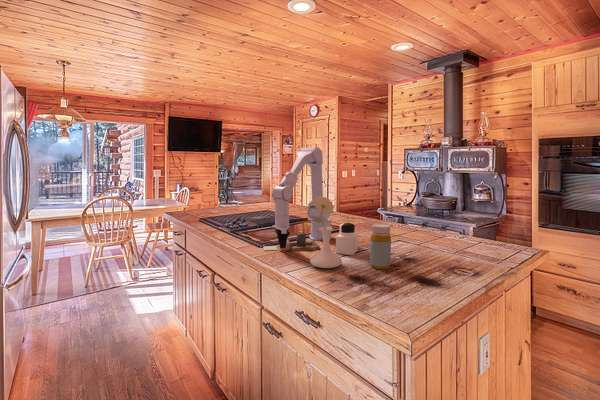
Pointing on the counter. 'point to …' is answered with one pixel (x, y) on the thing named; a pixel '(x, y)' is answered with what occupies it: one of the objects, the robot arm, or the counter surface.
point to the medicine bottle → (347, 239)
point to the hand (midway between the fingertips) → (282, 247)
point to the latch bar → (285, 247)
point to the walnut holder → (314, 247)
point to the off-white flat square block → (269, 248)
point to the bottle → (380, 246)
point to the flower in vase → (325, 237)
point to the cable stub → (301, 239)
